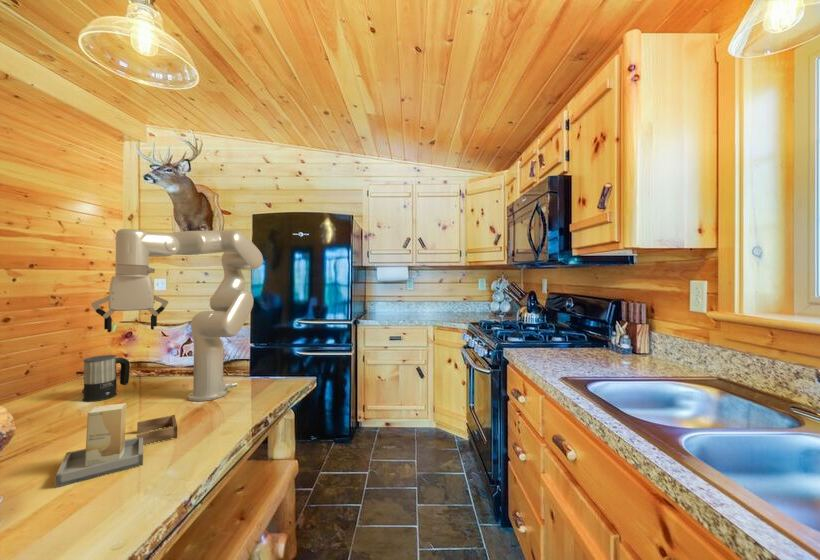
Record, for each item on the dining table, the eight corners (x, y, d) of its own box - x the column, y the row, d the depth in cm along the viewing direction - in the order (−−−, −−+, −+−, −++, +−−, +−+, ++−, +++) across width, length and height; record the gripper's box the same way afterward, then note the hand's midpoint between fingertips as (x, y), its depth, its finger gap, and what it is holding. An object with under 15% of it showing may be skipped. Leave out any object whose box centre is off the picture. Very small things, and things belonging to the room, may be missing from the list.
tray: (142, 445, 87) (143, 436, 87) (142, 465, 77) (142, 454, 77) (66, 463, 78) (66, 452, 78) (55, 487, 69) (55, 476, 69)
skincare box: (84, 468, 75) (85, 413, 75) (90, 459, 78) (91, 406, 79) (121, 460, 78) (122, 407, 78) (126, 452, 82) (126, 402, 82)
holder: (174, 424, 99) (174, 414, 99) (177, 437, 91) (177, 426, 91) (137, 432, 94) (137, 422, 94) (136, 447, 86) (136, 435, 86)
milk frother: (99, 402, 118) (100, 360, 118) (56, 402, 118) (57, 359, 118) (134, 389, 132) (134, 352, 132) (95, 389, 132) (95, 351, 133)
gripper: (168, 272, 106) (167, 326, 106) (93, 271, 96) (92, 331, 95) (169, 272, 100) (168, 329, 100) (90, 270, 90) (89, 334, 89)
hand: (131, 330), depth 98 cm, fingers open, 9 cm apart
